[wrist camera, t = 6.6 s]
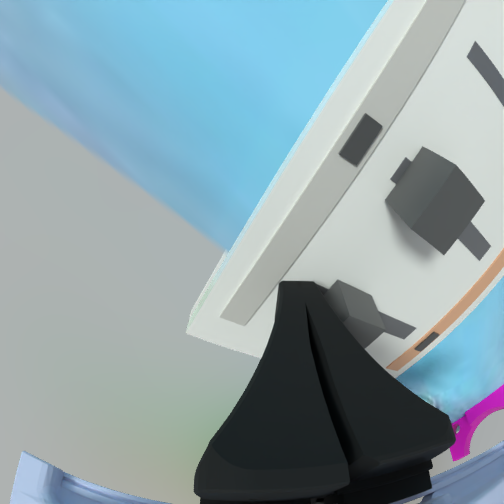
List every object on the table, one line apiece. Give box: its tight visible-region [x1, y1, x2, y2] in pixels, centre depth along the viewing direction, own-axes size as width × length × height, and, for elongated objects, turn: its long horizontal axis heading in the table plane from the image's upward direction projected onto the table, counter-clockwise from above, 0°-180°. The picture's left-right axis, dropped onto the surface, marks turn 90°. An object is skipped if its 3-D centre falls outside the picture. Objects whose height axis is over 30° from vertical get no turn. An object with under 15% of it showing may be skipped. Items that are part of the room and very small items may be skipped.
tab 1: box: [324, 279, 386, 349], centre depth 11 cm, size 2×2×2 cm
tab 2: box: [385, 146, 485, 255], centre depth 8 cm, size 2×2×2 cm
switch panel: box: [186, 0, 504, 378], centre depth 10 cm, size 14×22×2 cm, turn 152°
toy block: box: [450, 385, 504, 461], centre depth 24 cm, size 15×6×8 cm, turn 144°
